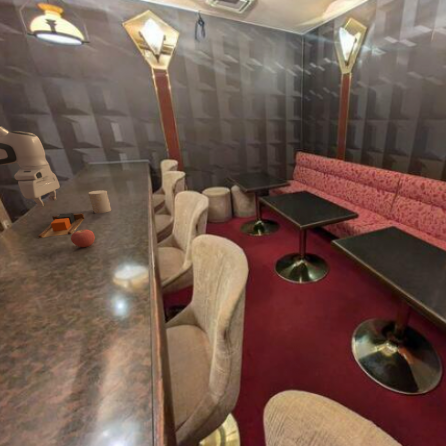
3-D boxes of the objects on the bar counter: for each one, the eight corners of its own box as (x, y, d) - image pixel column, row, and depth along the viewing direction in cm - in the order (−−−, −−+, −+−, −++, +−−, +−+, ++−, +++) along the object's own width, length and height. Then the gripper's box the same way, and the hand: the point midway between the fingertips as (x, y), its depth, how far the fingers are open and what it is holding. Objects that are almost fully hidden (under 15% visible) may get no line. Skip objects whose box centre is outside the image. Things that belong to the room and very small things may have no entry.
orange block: (53, 231, 116) (50, 223, 114) (57, 226, 120) (55, 219, 119) (67, 229, 118) (64, 221, 116) (71, 225, 123) (68, 217, 121)
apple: (84, 251, 101) (78, 233, 98) (69, 249, 102) (63, 231, 99) (101, 243, 107) (96, 226, 105) (87, 241, 109) (82, 224, 106)
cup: (90, 213, 142) (84, 193, 138) (104, 209, 149) (98, 189, 145) (101, 214, 140) (96, 194, 136) (114, 210, 148) (110, 191, 143)
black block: (58, 225, 122) (56, 217, 121) (62, 221, 127) (60, 214, 126) (71, 224, 124) (69, 216, 123) (75, 220, 129) (73, 213, 128)
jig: (37, 239, 109) (34, 231, 108) (55, 222, 127) (52, 216, 126) (72, 235, 114) (70, 227, 113) (84, 219, 132) (82, 213, 131)
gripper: (41, 168, 112) (51, 197, 117) (10, 176, 94) (24, 210, 99) (58, 168, 114) (67, 196, 119) (32, 176, 96) (44, 209, 101)
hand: (47, 203), depth 109 cm, fingers open, 8 cm apart
